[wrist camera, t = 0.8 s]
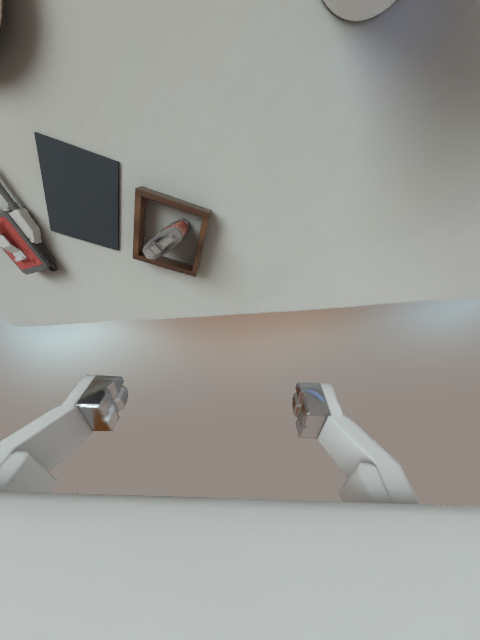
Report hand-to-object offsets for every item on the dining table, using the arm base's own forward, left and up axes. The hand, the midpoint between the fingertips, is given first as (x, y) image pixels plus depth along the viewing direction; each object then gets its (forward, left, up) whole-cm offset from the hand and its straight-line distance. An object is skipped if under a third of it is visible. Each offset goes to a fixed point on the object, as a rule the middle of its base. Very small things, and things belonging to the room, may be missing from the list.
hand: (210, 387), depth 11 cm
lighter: (+7, -11, -40) cm, 42 cm away
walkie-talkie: (+15, -41, -40) cm, 60 cm away
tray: (+7, -11, -40) cm, 42 cm away
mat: (+6, -28, -40) cm, 49 cm away
